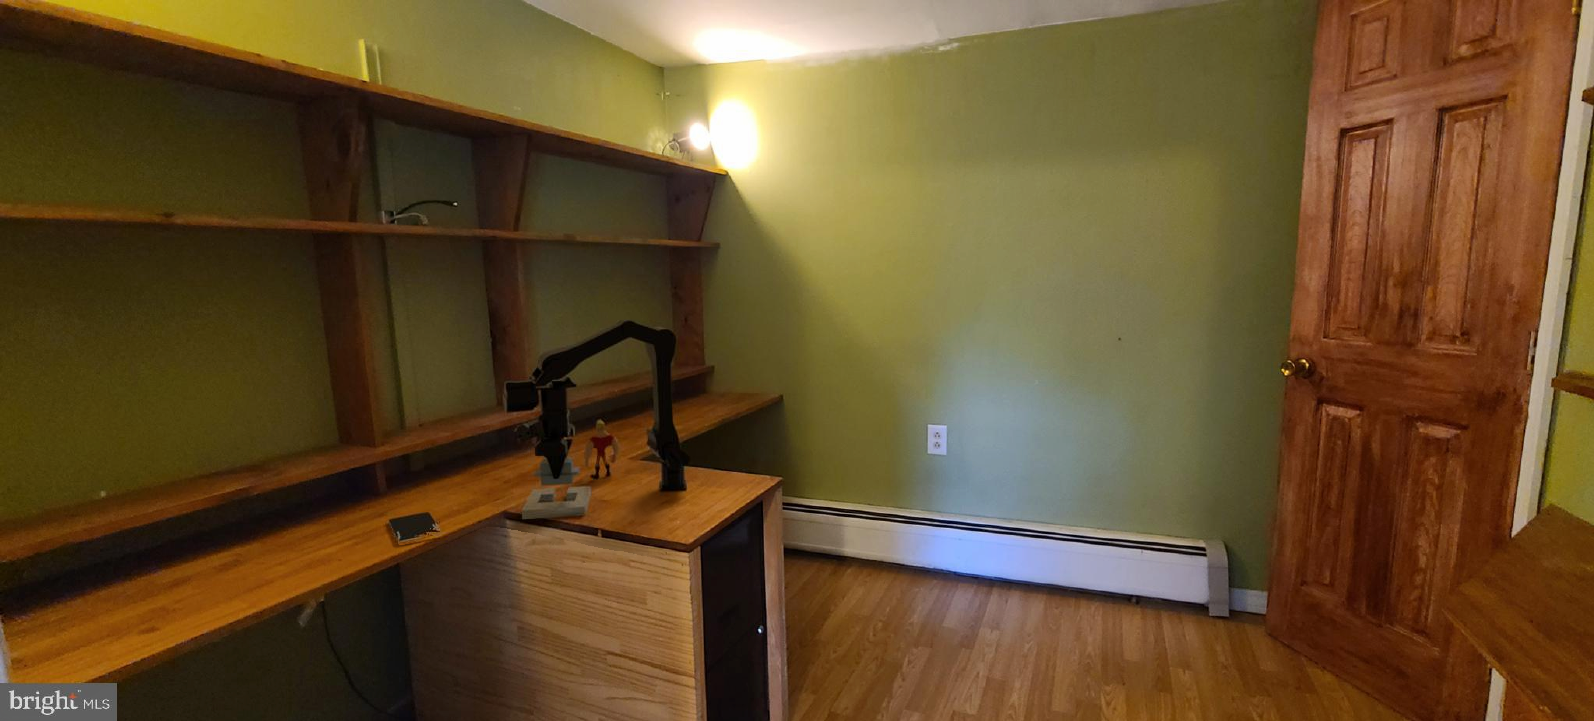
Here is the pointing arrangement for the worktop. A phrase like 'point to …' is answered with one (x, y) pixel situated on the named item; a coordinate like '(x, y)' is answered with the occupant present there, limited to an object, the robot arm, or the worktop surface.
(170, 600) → the worktop surface
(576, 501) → the plate
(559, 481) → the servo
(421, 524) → the smartphone
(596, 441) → the action figure
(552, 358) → the robot arm
